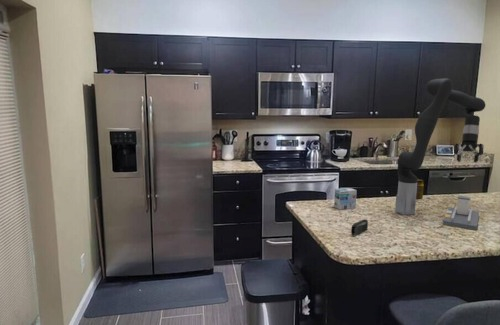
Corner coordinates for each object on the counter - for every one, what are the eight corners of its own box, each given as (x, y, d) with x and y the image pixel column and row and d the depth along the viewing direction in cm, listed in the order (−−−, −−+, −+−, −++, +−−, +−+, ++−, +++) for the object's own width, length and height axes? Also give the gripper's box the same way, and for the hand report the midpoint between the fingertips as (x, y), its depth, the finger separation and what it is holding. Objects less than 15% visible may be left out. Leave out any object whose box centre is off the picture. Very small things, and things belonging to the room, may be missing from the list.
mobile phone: (362, 218, 164) (349, 225, 153) (369, 219, 162) (355, 226, 151) (362, 228, 165) (348, 236, 153) (368, 229, 163) (354, 237, 151)
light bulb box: (339, 210, 193) (340, 191, 191) (333, 206, 199) (334, 188, 197) (356, 208, 195) (357, 190, 194) (349, 205, 202) (350, 187, 200)
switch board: (448, 210, 192) (448, 204, 191) (478, 215, 184) (479, 208, 183) (442, 224, 169) (442, 217, 168) (476, 230, 161) (477, 223, 160)
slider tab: (457, 211, 182) (458, 195, 181) (468, 213, 179) (470, 196, 178) (456, 213, 179) (458, 197, 178) (468, 215, 176) (469, 198, 175)
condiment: (424, 198, 218) (426, 179, 216) (419, 200, 212) (421, 181, 210) (413, 196, 223) (414, 178, 221) (407, 198, 217) (409, 180, 216)
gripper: (454, 132, 200) (450, 160, 199) (481, 132, 188) (478, 161, 187) (460, 135, 204) (456, 162, 203) (487, 135, 193) (484, 163, 192)
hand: (467, 161), depth 195 cm, fingers open, 8 cm apart
